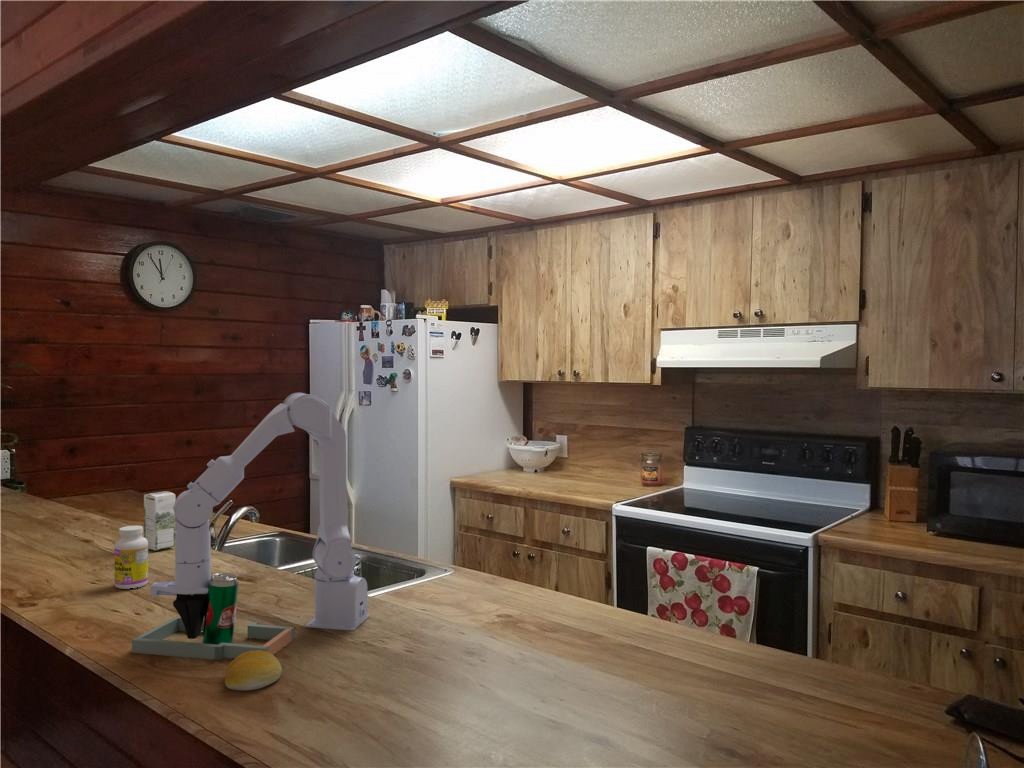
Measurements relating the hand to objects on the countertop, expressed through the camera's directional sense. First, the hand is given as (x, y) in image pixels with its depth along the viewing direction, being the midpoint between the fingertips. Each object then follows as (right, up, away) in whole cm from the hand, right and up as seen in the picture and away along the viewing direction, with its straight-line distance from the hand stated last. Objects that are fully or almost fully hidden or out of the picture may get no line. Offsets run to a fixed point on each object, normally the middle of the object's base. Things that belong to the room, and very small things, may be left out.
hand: (193, 636), depth 130 cm
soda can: (+4, -1, 0) cm, 4 cm away
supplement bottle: (-28, -1, +34) cm, 44 cm away
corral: (+4, -1, -1) cm, 5 cm away
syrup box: (-38, 0, +68) cm, 78 cm away
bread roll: (+19, -3, -17) cm, 25 cm away
